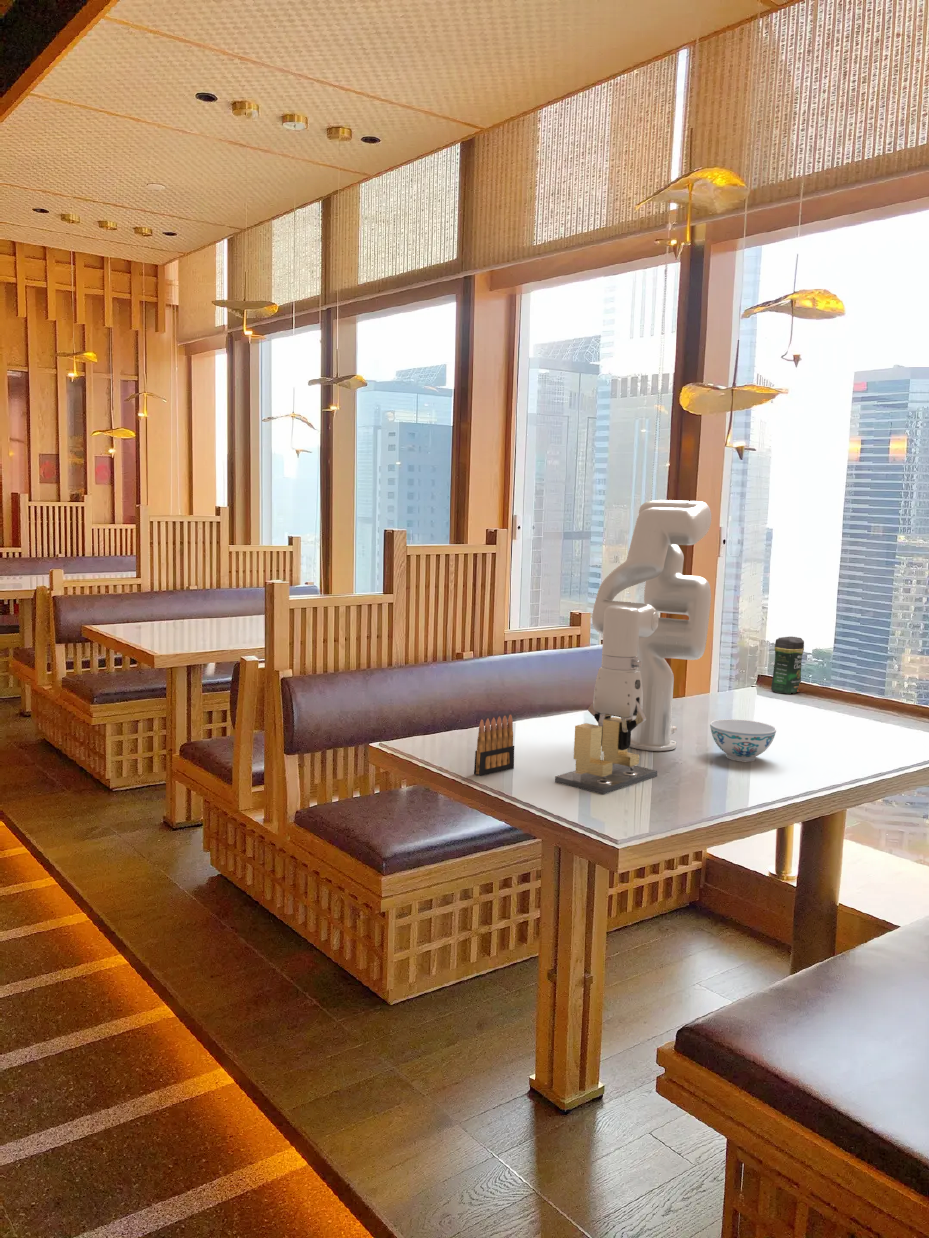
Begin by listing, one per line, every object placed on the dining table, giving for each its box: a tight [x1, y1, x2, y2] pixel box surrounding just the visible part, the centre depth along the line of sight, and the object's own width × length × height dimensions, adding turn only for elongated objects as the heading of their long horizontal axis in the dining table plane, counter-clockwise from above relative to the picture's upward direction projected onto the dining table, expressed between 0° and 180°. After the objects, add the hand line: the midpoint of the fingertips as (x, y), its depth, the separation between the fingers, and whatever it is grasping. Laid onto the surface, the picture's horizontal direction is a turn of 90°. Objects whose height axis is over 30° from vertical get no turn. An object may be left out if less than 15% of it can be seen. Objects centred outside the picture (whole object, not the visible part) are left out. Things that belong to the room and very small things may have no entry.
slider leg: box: [601, 716, 640, 771], centre depth 212 cm, size 4×7×10 cm, turn 49°
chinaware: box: [709, 718, 777, 763], centre depth 232 cm, size 15×15×8 cm
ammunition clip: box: [473, 714, 515, 777], centre depth 212 cm, size 11×2×12 cm, turn 134°
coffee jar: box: [770, 636, 805, 695], centre depth 325 cm, size 10×8×19 cm
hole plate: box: [554, 722, 658, 795], centre depth 209 cm, size 21×12×12 cm, turn 139°
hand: (614, 746), depth 213 cm, fingers closed on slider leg, 4 cm apart
